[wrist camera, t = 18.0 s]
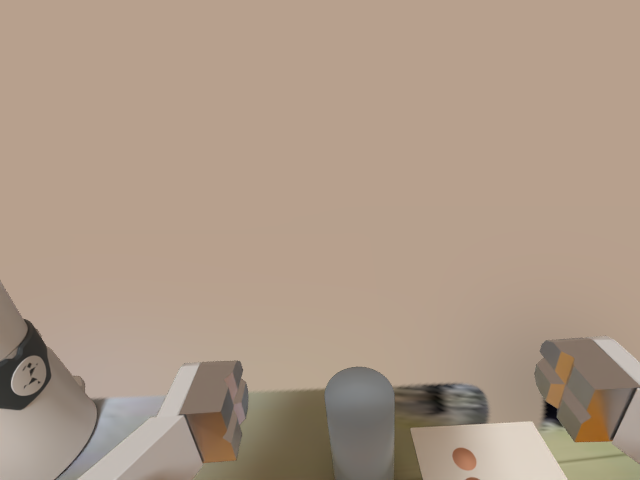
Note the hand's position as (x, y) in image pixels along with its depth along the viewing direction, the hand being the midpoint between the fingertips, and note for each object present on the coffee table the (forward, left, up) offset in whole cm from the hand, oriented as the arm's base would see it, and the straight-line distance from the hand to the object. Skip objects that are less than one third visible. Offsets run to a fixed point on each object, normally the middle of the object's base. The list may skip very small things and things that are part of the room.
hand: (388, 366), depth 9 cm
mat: (+12, +12, -28) cm, 33 cm away
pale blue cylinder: (0, +12, -28) cm, 30 cm away
